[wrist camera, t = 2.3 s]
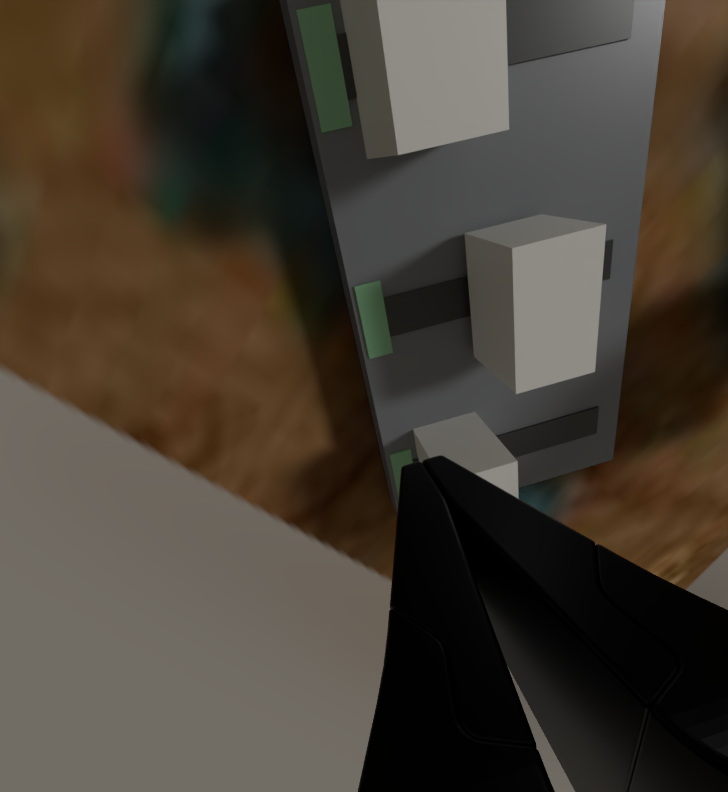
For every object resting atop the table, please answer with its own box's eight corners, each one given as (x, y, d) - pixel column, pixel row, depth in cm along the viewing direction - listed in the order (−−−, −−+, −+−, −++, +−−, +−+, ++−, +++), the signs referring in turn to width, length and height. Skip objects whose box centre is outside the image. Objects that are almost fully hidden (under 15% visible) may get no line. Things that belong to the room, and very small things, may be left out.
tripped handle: (541, 214, 16) (606, 224, 13) (540, 338, 18) (594, 372, 15) (464, 233, 16) (512, 248, 13) (473, 356, 18) (515, 394, 15)
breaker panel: (630, -98, 14) (836, -251, 9) (588, 439, 25) (672, 509, 20) (272, -30, 13) (275, -158, 8) (390, 498, 24) (423, 587, 19)
